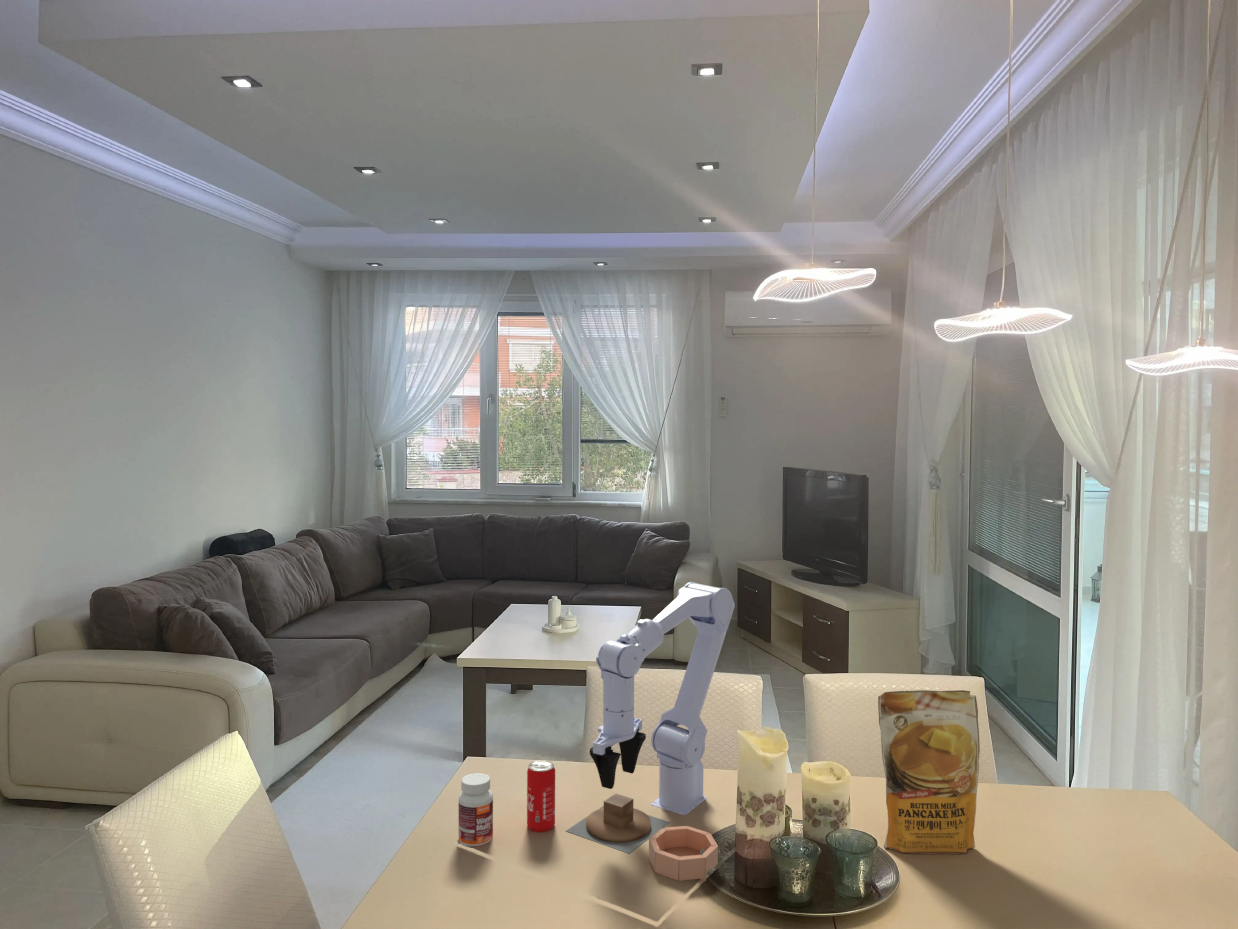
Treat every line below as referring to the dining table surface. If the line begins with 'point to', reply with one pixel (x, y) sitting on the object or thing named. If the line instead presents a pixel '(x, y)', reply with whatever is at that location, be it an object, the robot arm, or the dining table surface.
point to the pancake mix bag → (930, 769)
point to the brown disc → (618, 821)
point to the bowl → (683, 853)
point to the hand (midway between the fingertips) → (618, 779)
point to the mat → (626, 847)
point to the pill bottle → (475, 810)
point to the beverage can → (541, 796)
